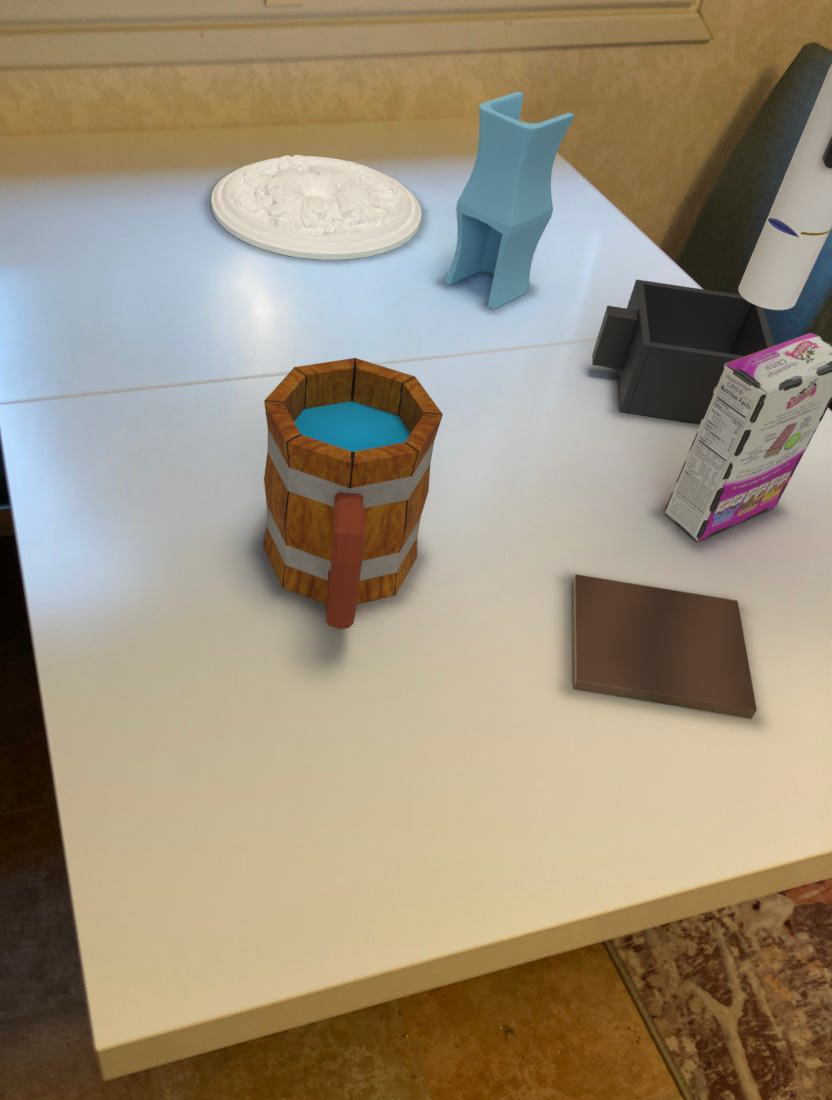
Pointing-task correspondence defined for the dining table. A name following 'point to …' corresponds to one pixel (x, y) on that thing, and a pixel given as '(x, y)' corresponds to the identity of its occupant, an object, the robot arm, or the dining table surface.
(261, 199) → the ceiling medallion
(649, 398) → the dark gray open box
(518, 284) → the blue flared stand
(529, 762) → the dining table surface
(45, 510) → the dining table surface
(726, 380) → the candy bar box
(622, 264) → the dining table surface
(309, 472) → the mug
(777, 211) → the tube
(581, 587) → the cutting board
